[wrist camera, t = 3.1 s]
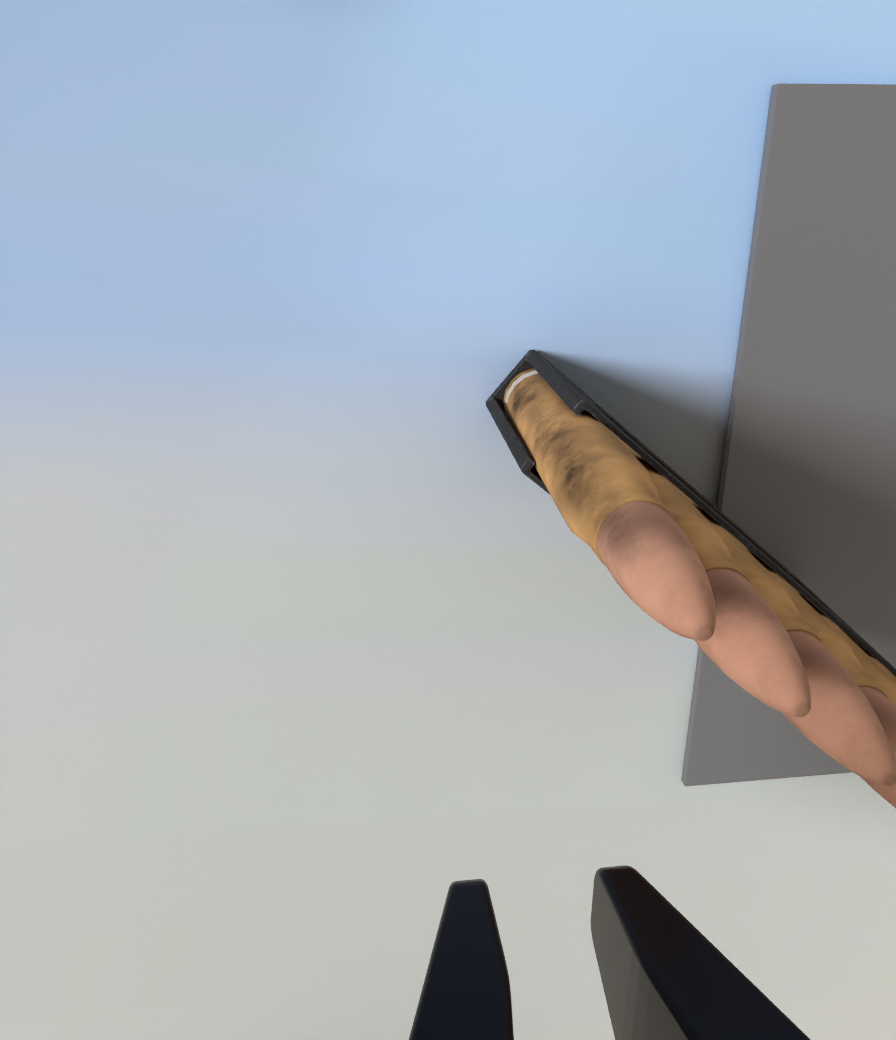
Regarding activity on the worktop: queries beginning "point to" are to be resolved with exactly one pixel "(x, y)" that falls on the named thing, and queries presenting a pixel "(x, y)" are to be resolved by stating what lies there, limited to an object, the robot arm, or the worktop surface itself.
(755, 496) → the rubber mat
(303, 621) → the worktop surface
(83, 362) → the worktop surface
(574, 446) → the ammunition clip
